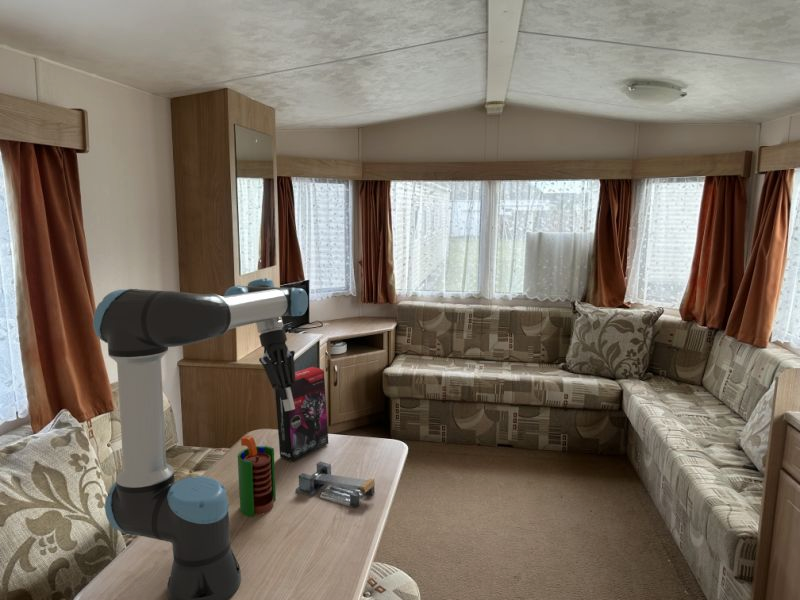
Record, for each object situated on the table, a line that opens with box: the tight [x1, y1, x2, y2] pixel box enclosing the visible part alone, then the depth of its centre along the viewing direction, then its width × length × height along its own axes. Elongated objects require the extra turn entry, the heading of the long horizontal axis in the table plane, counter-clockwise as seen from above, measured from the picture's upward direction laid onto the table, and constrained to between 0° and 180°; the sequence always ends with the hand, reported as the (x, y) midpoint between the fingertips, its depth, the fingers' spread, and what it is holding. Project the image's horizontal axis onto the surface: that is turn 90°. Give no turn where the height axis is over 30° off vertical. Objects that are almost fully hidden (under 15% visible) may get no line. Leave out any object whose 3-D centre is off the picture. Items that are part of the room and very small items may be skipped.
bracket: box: [295, 461, 375, 509], centre depth 162 cm, size 11×20×5 cm, turn 61°
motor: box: [237, 435, 277, 518], centre depth 153 cm, size 10×9×20 cm
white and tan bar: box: [310, 470, 376, 494], centre depth 161 cm, size 5×2×20 cm
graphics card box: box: [274, 366, 329, 462], centre depth 187 cm, size 17×7×27 cm, turn 143°
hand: (290, 410), depth 163 cm, fingers closed
